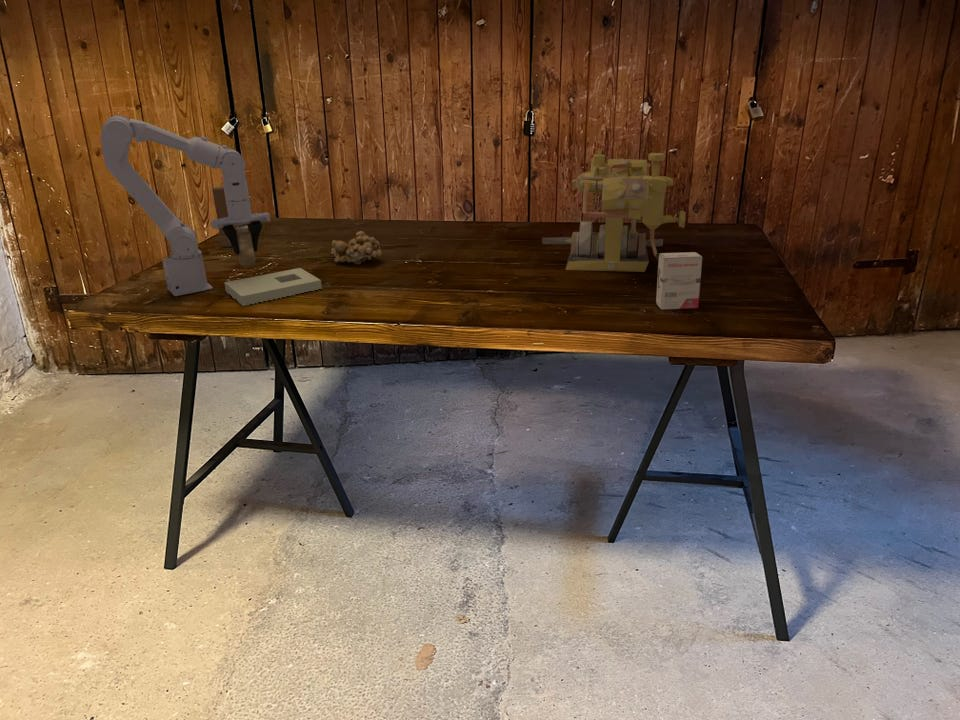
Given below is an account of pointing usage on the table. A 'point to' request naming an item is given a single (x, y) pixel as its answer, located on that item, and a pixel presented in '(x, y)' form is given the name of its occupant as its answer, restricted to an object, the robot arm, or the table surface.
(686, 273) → the ink box
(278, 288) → the socket board
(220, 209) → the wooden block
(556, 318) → the table surface
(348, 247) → the mineral formation
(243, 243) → the birch peg
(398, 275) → the table surface
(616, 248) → the mechanical engine
